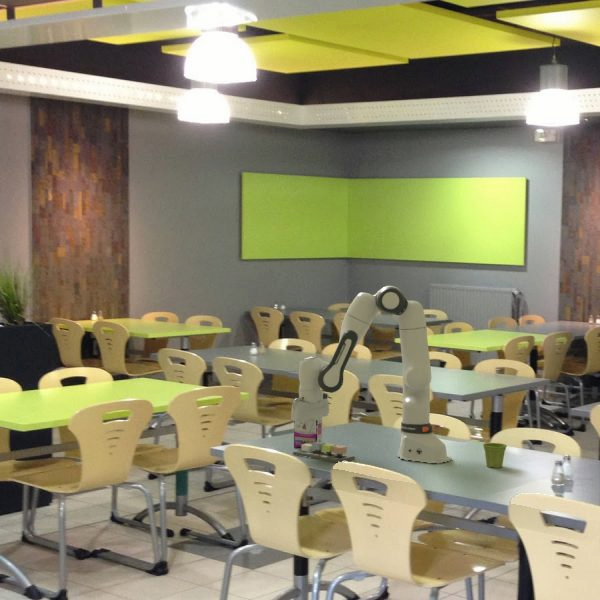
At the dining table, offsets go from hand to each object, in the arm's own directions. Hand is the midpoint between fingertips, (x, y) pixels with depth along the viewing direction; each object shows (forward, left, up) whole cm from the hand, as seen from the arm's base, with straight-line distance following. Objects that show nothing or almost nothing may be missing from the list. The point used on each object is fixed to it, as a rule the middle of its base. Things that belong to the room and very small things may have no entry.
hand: (310, 429), depth 457 cm
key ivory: (+1, 0, -10) cm, 10 cm away
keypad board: (-8, 0, -10) cm, 13 cm away
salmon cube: (-16, 0, -8) cm, 18 cm away
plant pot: (-67, -34, -10) cm, 75 cm away
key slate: (-5, 0, -8) cm, 10 cm away
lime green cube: (-10, 0, -8) cm, 13 cm away
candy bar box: (+9, -10, -10) cm, 17 cm away
